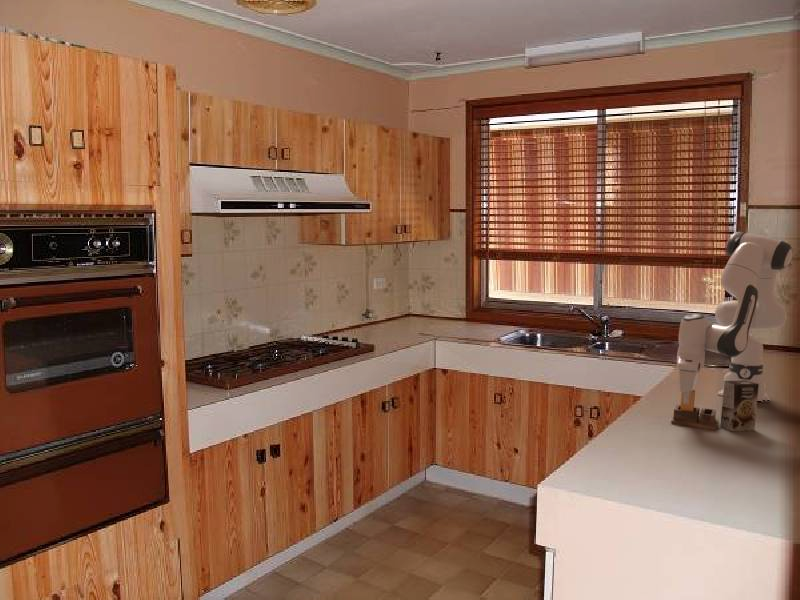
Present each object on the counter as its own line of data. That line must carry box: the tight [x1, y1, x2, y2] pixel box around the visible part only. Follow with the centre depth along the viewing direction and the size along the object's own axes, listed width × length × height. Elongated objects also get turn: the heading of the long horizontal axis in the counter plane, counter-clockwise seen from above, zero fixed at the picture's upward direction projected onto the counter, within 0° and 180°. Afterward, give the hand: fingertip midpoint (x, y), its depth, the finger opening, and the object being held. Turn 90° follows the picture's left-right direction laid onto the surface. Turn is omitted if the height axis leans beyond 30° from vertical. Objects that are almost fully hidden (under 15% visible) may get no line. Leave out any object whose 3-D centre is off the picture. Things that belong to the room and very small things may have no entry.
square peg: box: [680, 389, 696, 412], centre depth 248 cm, size 4×4×10 cm
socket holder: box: [670, 404, 719, 431], centre depth 247 cm, size 12×14×4 cm
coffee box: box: [720, 380, 759, 432], centre depth 241 cm, size 9×6×16 cm
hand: (687, 400), depth 247 cm, fingers open, 8 cm apart
